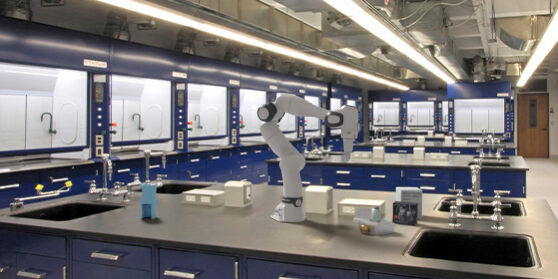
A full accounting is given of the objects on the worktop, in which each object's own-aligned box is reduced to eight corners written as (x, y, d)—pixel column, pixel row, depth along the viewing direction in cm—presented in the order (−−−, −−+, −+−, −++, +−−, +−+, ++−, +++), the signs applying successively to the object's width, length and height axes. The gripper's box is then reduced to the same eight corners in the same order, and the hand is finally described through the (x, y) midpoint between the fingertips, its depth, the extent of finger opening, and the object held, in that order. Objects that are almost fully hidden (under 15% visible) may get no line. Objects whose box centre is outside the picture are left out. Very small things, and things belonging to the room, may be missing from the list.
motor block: (354, 231, 239) (354, 220, 239) (377, 227, 249) (377, 217, 249) (370, 236, 229) (370, 224, 229) (394, 232, 239) (394, 220, 239)
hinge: (351, 222, 264) (355, 205, 266) (355, 223, 267) (358, 206, 270) (378, 226, 253) (381, 208, 255) (381, 227, 257) (384, 210, 259)
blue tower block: (157, 216, 276) (157, 183, 275) (152, 219, 268) (152, 185, 267) (145, 216, 276) (145, 183, 276) (140, 218, 269) (139, 185, 268)
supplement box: (422, 219, 274) (422, 190, 273) (400, 218, 274) (400, 189, 273) (416, 214, 287) (416, 187, 286) (395, 214, 287) (395, 186, 286)
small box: (391, 223, 261) (392, 202, 261) (394, 221, 267) (395, 200, 267) (415, 225, 255) (415, 204, 254) (417, 223, 261) (418, 202, 260)
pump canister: (369, 221, 241) (369, 206, 240) (376, 220, 243) (376, 205, 243) (376, 223, 236) (376, 207, 236) (383, 222, 239) (383, 207, 239)
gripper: (344, 134, 258) (343, 158, 259) (342, 135, 238) (341, 161, 239) (355, 134, 257) (354, 158, 258) (354, 135, 237) (353, 162, 238)
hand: (348, 160), depth 248 cm, fingers open, 8 cm apart
